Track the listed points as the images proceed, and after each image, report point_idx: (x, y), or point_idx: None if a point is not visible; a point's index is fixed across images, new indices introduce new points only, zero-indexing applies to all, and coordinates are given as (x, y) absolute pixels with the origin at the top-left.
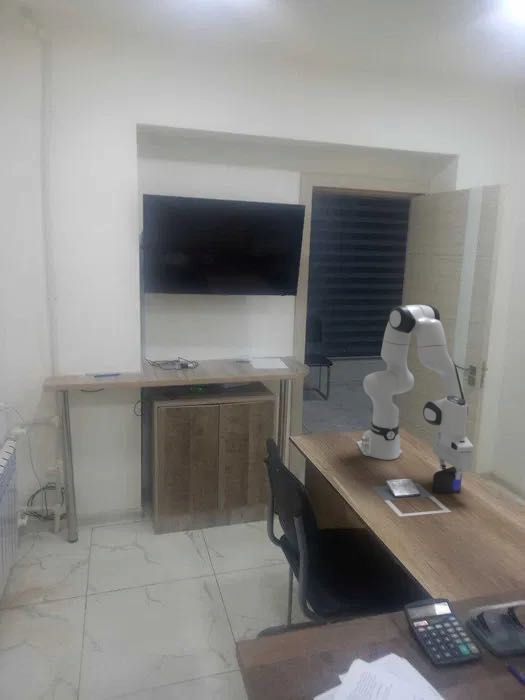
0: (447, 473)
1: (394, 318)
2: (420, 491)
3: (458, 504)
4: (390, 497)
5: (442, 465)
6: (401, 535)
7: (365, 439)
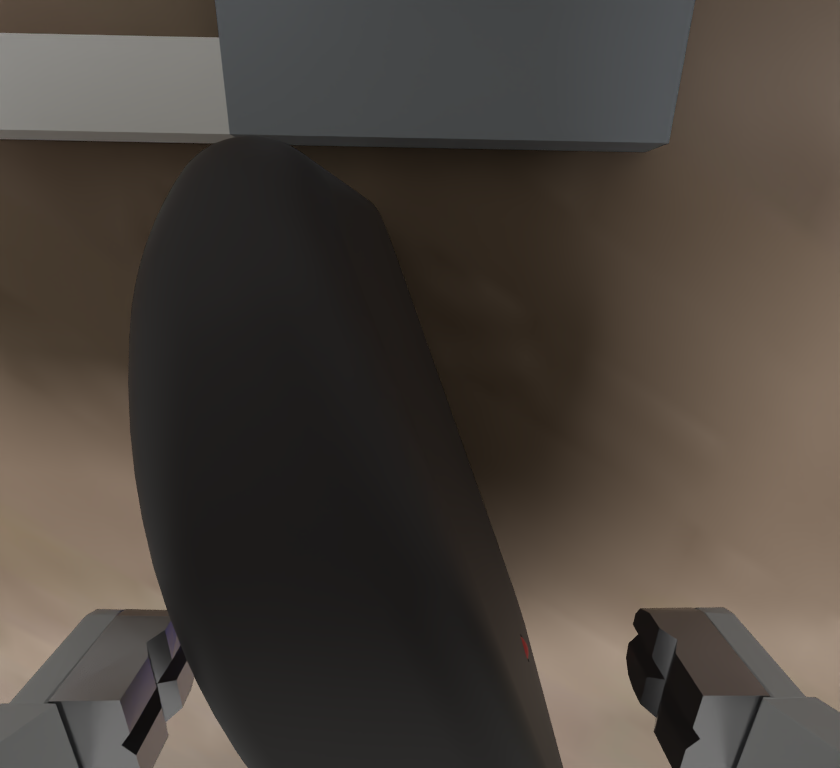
0: (155, 559)
1: None
2: (409, 1)
3: (122, 388)
4: None
5: (697, 705)
6: None
7: None
